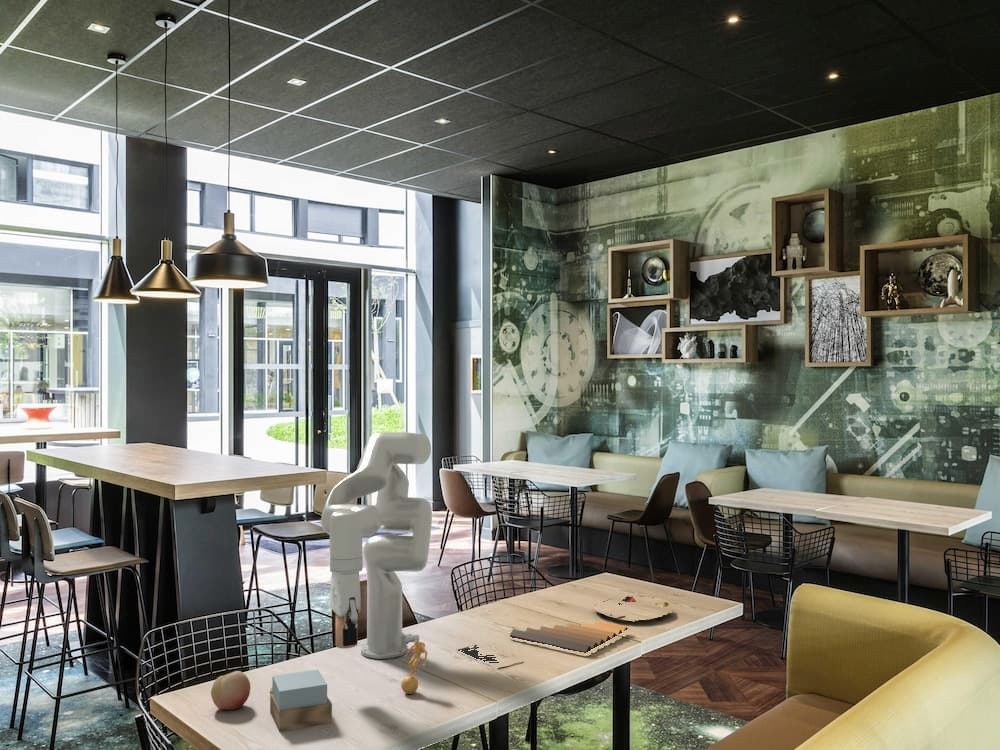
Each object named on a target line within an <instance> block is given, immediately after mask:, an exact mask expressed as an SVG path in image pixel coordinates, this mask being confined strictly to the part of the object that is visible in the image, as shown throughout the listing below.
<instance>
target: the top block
mask: <svg viewBox="0 0 1000 750" xmlns="http://www.w3.org/2000/svg"><path fill="white" fill-rule="evenodd" d="M271 688H272V694H273V697H274V699H275V702H276V704H277V706H278V709H279V711H281V710H287V709H293V708H299V707H306V706H312V705H318V704H325V703H327V697H328V683H327V682H326V680H325V678H324V676H323V675H322V674H321V672H320V671H319V669H312V670H305V671H298V672H291V673H290V672H289V673H283V674H278V675H272V686H271Z"/></svg>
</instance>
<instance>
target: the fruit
mask: <svg viewBox="0 0 1000 750" xmlns="http://www.w3.org/2000/svg"><path fill="white" fill-rule="evenodd" d="M250 694H251V682H250V680H249V677H248V676H247V675H246V674H245V673H244V672H242V671H241V670H236V671H232V672H229V673H226V674H225V675H220V676H218V677H216V679H215V680H214V682H213V683H212V687H211V691H210V695H211V700H212V702H213V704H214V706H216V708H218V709H219V710H228V711H235V710H237V709H239V708H241V707H242V706H244V704H246V703H247V701H248V699H249V697H250Z"/></svg>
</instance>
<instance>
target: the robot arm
mask: <svg viewBox="0 0 1000 750" xmlns="http://www.w3.org/2000/svg"><path fill="white" fill-rule="evenodd" d="M431 450H432V446H431V442H430V439H429V437H428V436H427V435H426V434H424V433H415V432H400V431H398V432H395V431H394V432H389V431H387V432H383V431H382V432H377V433H374V434H371V436H370V437H369V438H368V439H367V441H366V444H365V446H364V449H363V451H362V455H361V457H360V460H359V463H358V465H357V468H356V470H355V471H353V473H351V474H350V475H348V476H346V477H345V478H344V479H343V480H341V481H340V482H338V483H337V484H336V485H335V486H334V487H333V488H332V490H330V492H329V494H328V495H327V499H326V501H325V504H324V507H323V509H322V513H321V519H320V522H321V523H320V524H321V528H322V530H323V531H324V533H326V534H328V535H329V572H330V573H331V578H330V598H329V599H330V603H329V605H330V608H331V609H332V611H333V612H334V613H335V615H336V614H337V615H338V616H340V617H344V628H343V645H344V646H350V645H356V644H357V645H358V620H359V619H358V618H359V617H358V615H359V614H360V613H361V604H362V603H361V580H360V579H361V578H360V572H362V571H363V558H364V564H365V570H366V583H367V585H366V586H367V589H366V592H367V593H366V595H367V596H366V597H367V598H366V601H367V602H366V603H367V604H366V608H367V609H366V610H367V611H366V614H367V615H366V621H367V622H366V644H364V645H362V646H361V648H360V652H361V654H362V655H363V656H364V657H366V658H369V659H378V660H383V659H384V660H385V659H394V658H397V657H401V656H403V655H404V656H405V655H406V653H407V652H408V650H409V646H408V644H409V643H415V641H416V640H417V641H418V642H420V634H412V633H406V634H405V633H404V632H403V585H402V582H401V580H400V577H398V575H397V573H396V572H410V573H411V572H412V573H413V572H414V573H415V572H416V573H417V572H422V571H423V570H424V569H426V566H427V563H428V560H429V553H430V545H431V543H430V541H431V533H432V531H431V530H432V523H433V509H432V506H431V503H430V502H429V501H428V500H427V499H425V498H422V497H410V496H408V495H409V487H410V481H409V479H408V476H407V475H406V473H405V472H404V470H403V469H402V468H401V467H400V466H399V464H400V465H423V464H425V463H426V462H427V461H428V460H429V458H430V456H431ZM376 492H377V494H376V495H377V497H376V501H375V502H376V503H375V506H374V505H370V504H356V503H355V504H351V502H352V501H354V500H356V499H359V498H362V497H366V496H369V495H371V494H374V493H376ZM349 503H350V504H349ZM379 530H380V531H383V532H396V533H397V532H399V533H400V532H401V533H412V535H398V534H396V535H395V534H379V535H374V534H376V533H377V532H378V531H379ZM373 535H374V536H373ZM365 537H370V538H368V539H367V540H366V542H365V544H364V545H363V538H365ZM363 556H364V557H363ZM347 612H350V614H349V615H346V613H347ZM348 617H350V619H349V620H348V622H347V618H348Z"/></svg>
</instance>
